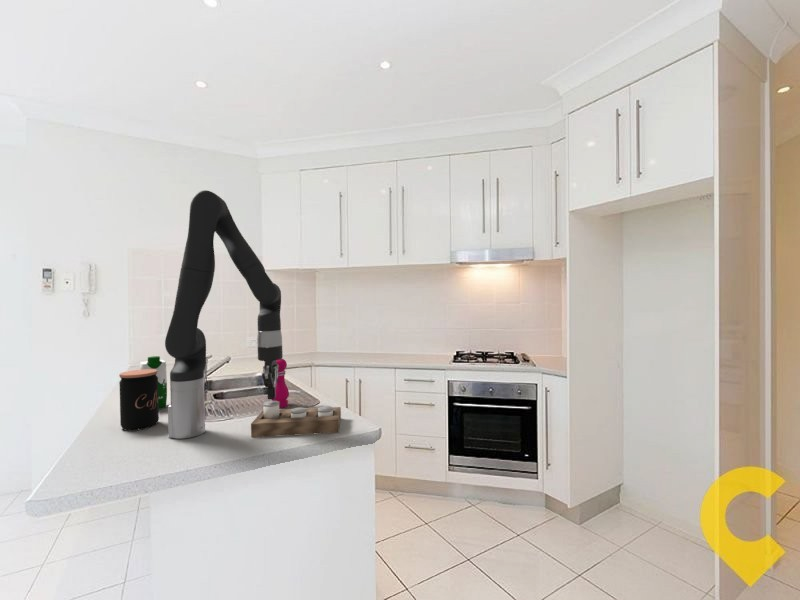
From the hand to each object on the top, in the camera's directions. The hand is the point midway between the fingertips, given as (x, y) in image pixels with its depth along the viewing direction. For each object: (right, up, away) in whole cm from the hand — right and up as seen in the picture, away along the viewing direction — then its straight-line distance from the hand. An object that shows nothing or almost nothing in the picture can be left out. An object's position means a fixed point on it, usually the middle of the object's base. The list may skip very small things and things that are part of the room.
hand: (271, 398), depth 126 cm
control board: (+9, -9, +1) cm, 13 cm away
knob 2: (+17, -9, +2) cm, 19 cm away
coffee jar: (-46, -11, +6) cm, 47 cm away
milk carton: (-55, -11, +28) cm, 63 cm away
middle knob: (+8, -9, +1) cm, 12 cm away
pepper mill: (-6, -10, +27) cm, 29 cm away
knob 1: (0, -6, 0) cm, 6 cm away
